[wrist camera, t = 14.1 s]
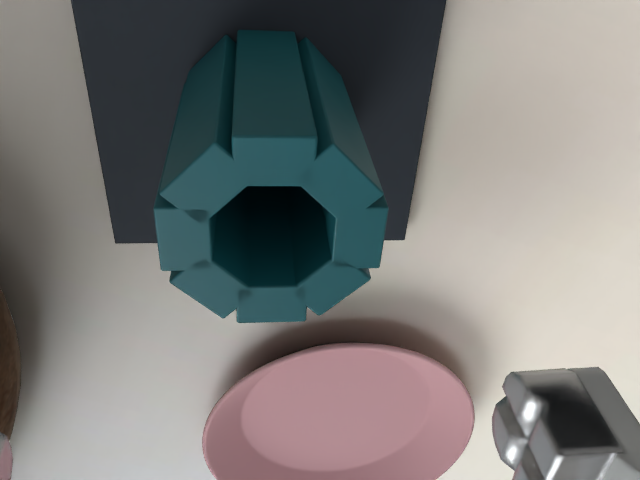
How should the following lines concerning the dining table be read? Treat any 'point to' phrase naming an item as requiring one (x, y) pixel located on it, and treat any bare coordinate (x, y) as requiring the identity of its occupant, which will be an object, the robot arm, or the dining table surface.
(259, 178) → the teal octagonal tube
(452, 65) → the dining table surface
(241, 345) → the dining table surface
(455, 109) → the dining table surface
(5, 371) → the bread
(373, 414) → the plate
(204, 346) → the dining table surface
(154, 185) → the mat
